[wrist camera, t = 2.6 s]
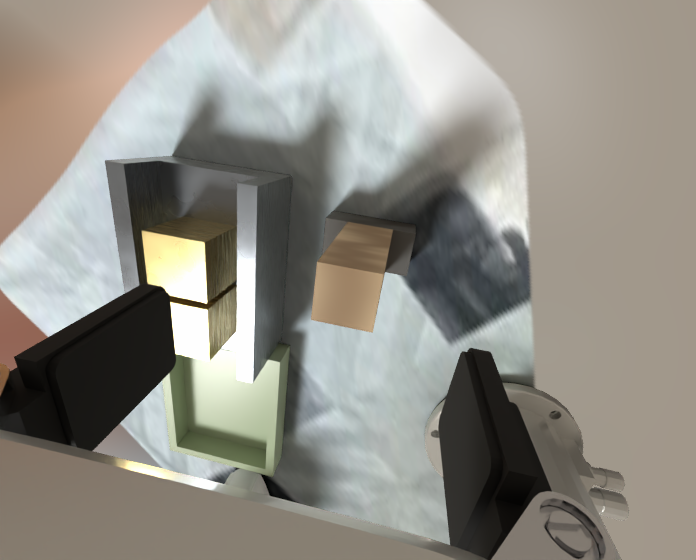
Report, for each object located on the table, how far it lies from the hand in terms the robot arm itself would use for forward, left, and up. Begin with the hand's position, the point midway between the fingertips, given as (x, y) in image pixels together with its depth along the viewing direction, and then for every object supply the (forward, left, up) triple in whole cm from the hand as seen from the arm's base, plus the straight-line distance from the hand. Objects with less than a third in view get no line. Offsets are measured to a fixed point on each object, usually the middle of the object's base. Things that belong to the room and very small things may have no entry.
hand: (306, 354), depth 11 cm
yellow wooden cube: (+11, +2, -13) cm, 17 cm away
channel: (+11, +4, -16) cm, 19 cm away
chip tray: (+11, +18, -16) cm, 26 cm away
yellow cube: (+11, +7, -13) cm, 18 cm away
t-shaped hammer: (0, 0, -16) cm, 16 cm away
